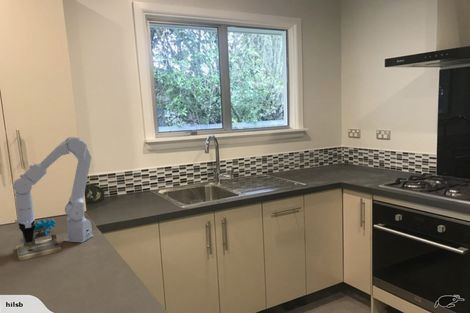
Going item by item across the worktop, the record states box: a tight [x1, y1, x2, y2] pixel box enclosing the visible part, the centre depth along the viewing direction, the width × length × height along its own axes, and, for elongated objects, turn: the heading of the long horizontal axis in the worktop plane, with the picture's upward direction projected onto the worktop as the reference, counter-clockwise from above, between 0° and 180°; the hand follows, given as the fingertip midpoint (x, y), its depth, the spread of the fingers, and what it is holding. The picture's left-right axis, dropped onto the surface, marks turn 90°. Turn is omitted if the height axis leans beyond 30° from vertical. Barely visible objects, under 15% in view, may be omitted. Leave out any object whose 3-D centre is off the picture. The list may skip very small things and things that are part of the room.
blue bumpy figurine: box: [34, 218, 57, 238], centre depth 161 cm, size 11×6×10 cm
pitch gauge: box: [15, 233, 62, 262], centre depth 143 cm, size 14×15×4 cm
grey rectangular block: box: [21, 231, 36, 248], centre depth 142 cm, size 4×7×6 cm, turn 34°
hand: (29, 240), depth 144 cm, fingers closed on grey rectangular block, 3 cm apart
